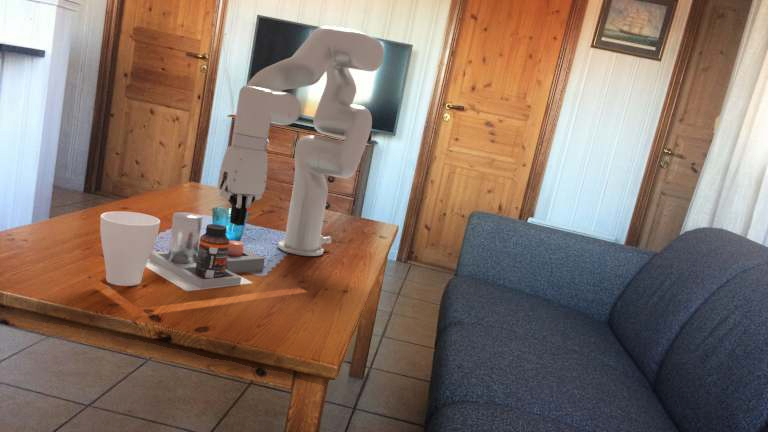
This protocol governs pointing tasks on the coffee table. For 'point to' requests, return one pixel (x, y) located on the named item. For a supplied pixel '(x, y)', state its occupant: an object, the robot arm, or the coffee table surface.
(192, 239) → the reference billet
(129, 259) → the cup
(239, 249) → the button
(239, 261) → the grey square block
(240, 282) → the tray
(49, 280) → the coffee table surface
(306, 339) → the coffee table surface
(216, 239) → the supplement bottle
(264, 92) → the robot arm
